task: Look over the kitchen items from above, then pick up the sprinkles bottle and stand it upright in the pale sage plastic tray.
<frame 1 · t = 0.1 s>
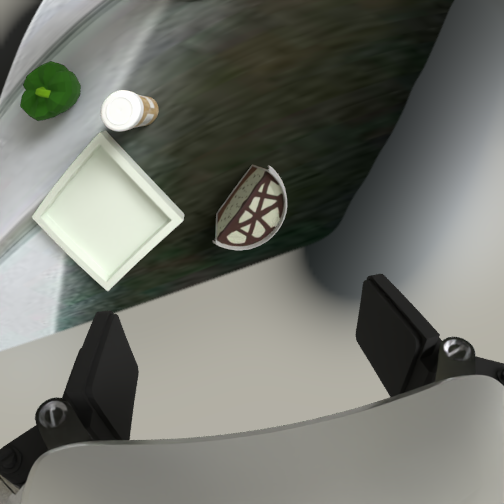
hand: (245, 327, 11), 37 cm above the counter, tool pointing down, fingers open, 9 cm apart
food container: (249, 199, 48), on the counter
bell pepper: (64, 93, 36), on the counter
tray: (106, 211, 45), on the counter
sprinkles bottle: (143, 111, 40), on the counter
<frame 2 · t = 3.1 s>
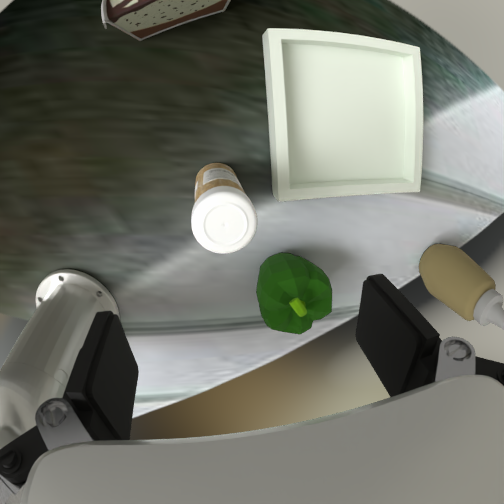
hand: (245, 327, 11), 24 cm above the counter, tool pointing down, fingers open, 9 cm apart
food container: (173, 3, 24), on the counter
bell pepper: (283, 271, 39), on the counter
squeeze bottle: (431, 259, 42), on the counter
tray: (346, 113, 31), on the counter
sprinkles bottle: (216, 182, 33), on the counter
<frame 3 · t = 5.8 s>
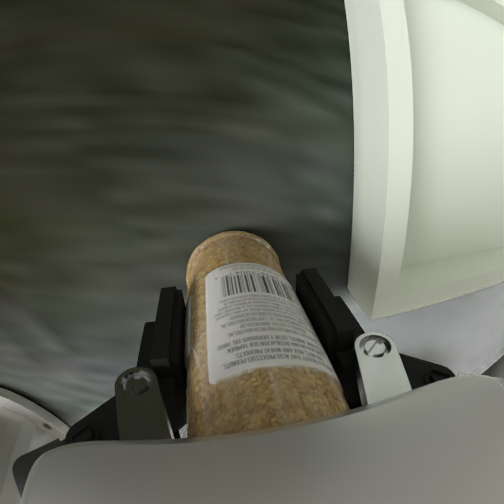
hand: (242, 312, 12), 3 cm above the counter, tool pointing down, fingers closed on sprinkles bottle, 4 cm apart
tray: (479, 130, 14), on the counter
sprinkles bottle: (233, 269, 15), on the counter, touching gripper
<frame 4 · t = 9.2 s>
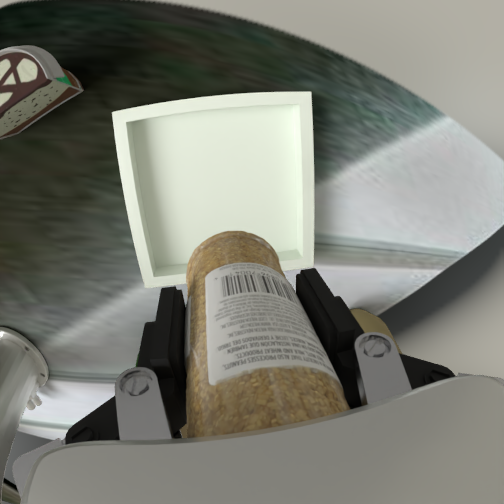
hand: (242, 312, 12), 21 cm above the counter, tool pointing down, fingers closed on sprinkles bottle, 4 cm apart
food container: (41, 88, 23), on the counter
squeeze bottle: (349, 323, 42), on the counter
tray: (218, 186, 31), on the counter
sprinkles bottle: (233, 269, 15), point 18 cm above the counter, touching gripper
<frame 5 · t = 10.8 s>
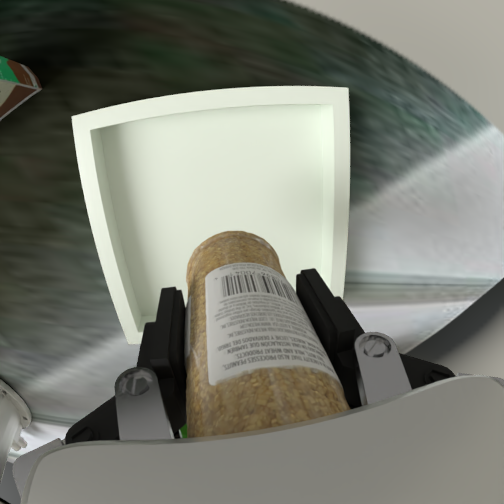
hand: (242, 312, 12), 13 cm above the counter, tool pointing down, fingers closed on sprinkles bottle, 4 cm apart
tray: (220, 214, 23), on the counter
sprinkles bottle: (234, 269, 15), point 9 cm above the counter, touching gripper
when the fingers open (5 cm above the counter, at t = 12.5 s): sprinkles bottle drops 1 cm, resting on tray.
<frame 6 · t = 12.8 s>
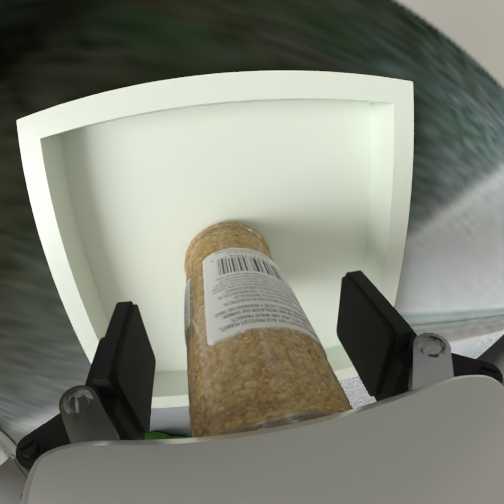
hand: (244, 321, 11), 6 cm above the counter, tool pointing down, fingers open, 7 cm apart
tray: (229, 251, 17), on the counter
sprinkles bottle: (228, 258, 16), point 1 cm above the counter, touching tray
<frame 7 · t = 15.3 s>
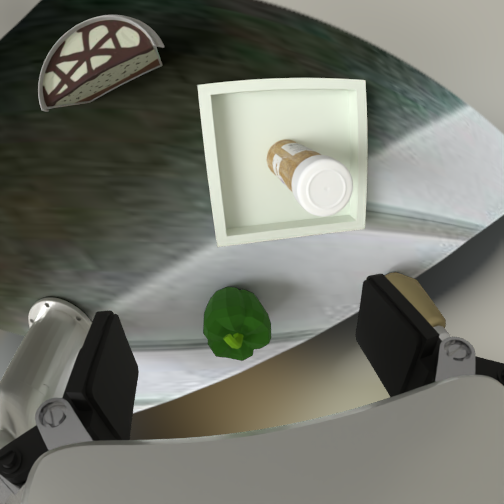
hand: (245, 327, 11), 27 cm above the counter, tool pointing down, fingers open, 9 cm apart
food container: (116, 61, 27), on the counter
bell pepper: (233, 301, 43), on the counter
squeeze bottle: (388, 287, 46), on the counter
tray: (285, 156, 35), on the counter
sprinkles bottle: (285, 157, 34), point 1 cm above the counter, touching tray
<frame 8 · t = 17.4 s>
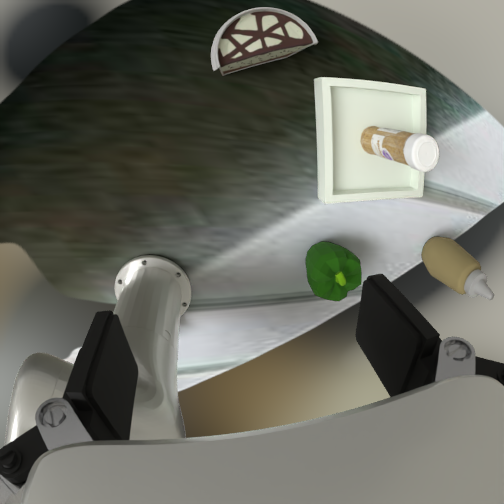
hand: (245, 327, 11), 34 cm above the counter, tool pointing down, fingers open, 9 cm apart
food container: (247, 46, 35), on the counter
bell pepper: (322, 256, 51), on the counter
squeeze bottle: (431, 249, 54), on the counter
tray: (370, 139, 43), on the counter
sprinkles bottle: (371, 139, 43), point 1 cm above the counter, touching tray
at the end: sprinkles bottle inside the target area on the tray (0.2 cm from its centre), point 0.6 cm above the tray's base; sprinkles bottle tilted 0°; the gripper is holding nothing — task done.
